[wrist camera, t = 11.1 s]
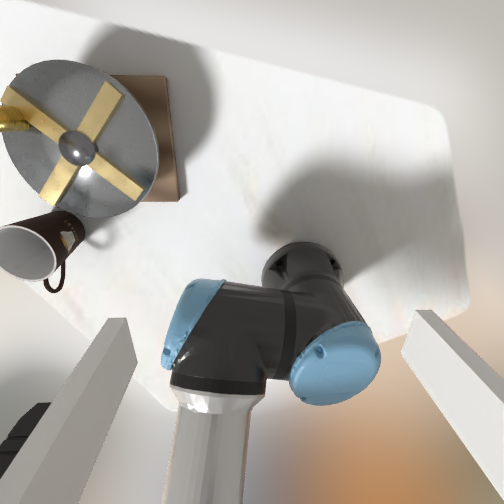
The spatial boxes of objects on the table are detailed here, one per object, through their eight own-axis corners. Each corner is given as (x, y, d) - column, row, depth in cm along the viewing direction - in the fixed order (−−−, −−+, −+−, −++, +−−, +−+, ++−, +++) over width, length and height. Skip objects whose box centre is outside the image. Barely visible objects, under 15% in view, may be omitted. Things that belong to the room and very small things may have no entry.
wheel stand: (179, 199, 44) (171, 209, 39) (62, 199, 43) (36, 210, 38) (166, 77, 37) (153, 70, 31) (23, 75, 36) (-14, 67, 31)
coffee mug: (39, 196, 43) (-14, 215, 34) (95, 215, 45) (59, 238, 36) (35, 256, 48) (-12, 287, 39) (86, 271, 49) (52, 304, 40)
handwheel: (50, 20, 29) (-57, -37, 18) (187, 141, 34) (164, 149, 24) (-13, 152, 34) (-123, 165, 24) (114, 238, 40) (71, 278, 29)
